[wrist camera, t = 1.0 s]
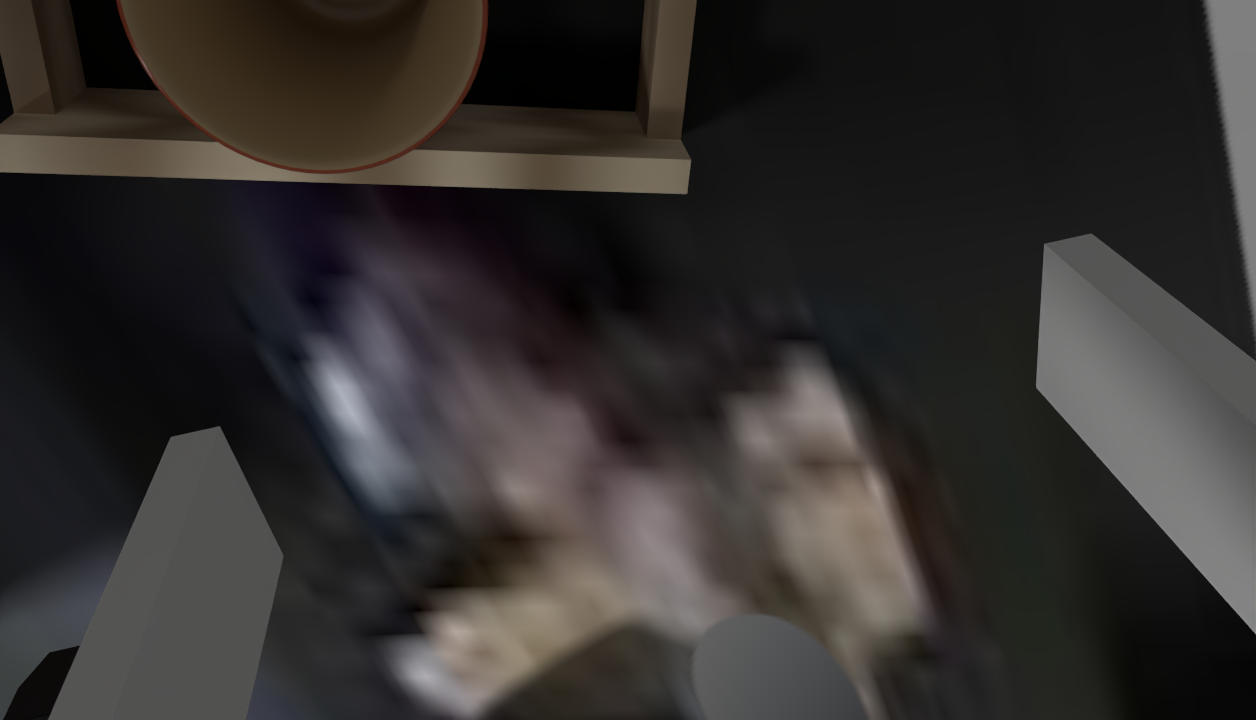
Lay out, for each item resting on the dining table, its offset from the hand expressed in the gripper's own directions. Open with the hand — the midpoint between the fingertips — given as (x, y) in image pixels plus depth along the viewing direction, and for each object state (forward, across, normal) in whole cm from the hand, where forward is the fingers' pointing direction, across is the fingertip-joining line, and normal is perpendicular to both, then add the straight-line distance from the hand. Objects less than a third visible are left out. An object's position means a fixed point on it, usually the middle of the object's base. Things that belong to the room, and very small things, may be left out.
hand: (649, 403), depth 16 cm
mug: (+23, -5, +6) cm, 25 cm away
